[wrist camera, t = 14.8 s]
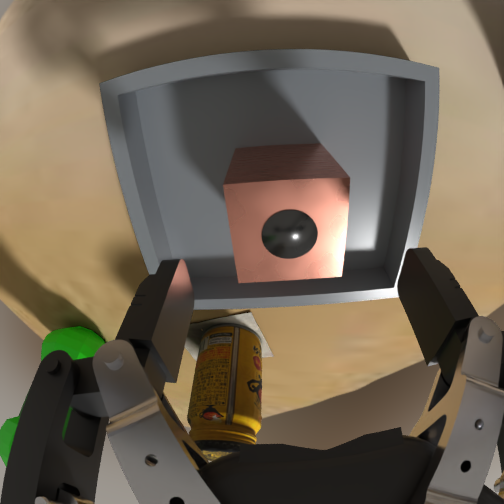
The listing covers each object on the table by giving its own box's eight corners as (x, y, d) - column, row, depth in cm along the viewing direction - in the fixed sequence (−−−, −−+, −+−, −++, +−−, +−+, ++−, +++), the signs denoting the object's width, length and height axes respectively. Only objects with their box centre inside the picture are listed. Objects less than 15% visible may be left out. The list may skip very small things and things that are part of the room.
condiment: (274, 354, 28) (275, 464, 18) (201, 365, 30) (186, 463, 20) (251, 310, 24) (245, 444, 14) (168, 325, 26) (138, 440, 16)
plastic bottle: (105, 370, 33) (63, 526, 12) (45, 326, 28) (-19, 486, 8) (142, 354, 29) (97, 554, 9) (69, 297, 24) (-15, 510, 4)
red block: (235, 148, 16) (222, 185, 11) (320, 143, 15) (350, 178, 10) (244, 222, 18) (238, 283, 14) (320, 217, 18) (341, 277, 13)
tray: (123, 80, 13) (99, 83, 11) (413, 66, 12) (439, 67, 10) (172, 283, 23) (163, 309, 20) (389, 271, 21) (402, 296, 19)
